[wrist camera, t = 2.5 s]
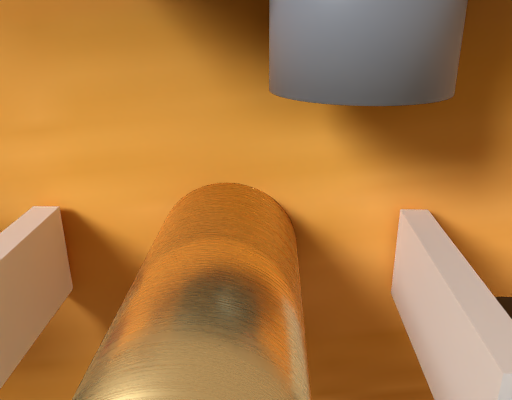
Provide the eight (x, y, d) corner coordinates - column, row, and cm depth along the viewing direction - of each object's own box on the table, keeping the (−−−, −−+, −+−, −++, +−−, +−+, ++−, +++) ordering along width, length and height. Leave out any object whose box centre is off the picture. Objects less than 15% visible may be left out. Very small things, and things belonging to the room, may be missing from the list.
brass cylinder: (166, 303, 15) (32, 668, 7) (155, 182, 14) (-34, 456, 5) (294, 305, 15) (321, 681, 7) (298, 183, 13) (337, 465, 5)
